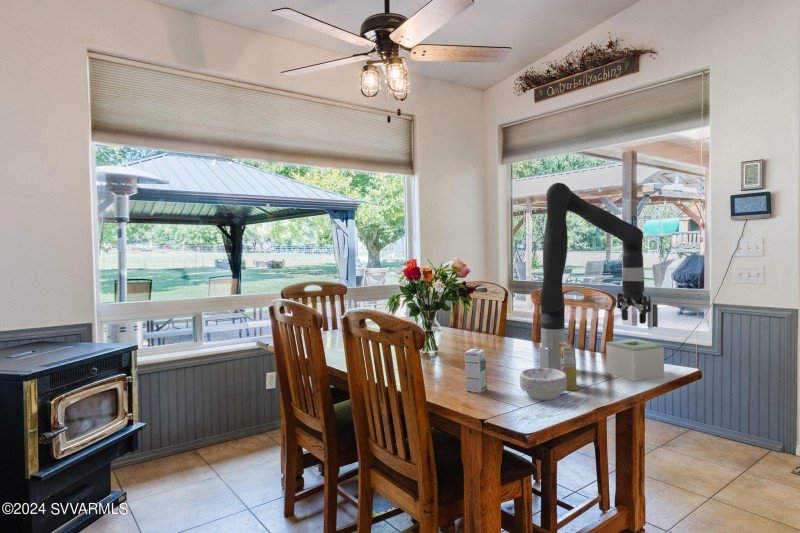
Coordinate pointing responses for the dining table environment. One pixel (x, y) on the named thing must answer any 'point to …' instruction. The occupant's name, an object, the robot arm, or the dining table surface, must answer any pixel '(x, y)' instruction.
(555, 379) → the marbled stone bowl
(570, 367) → the candy box
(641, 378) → the box
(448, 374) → the dining table surface
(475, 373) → the syrup box
